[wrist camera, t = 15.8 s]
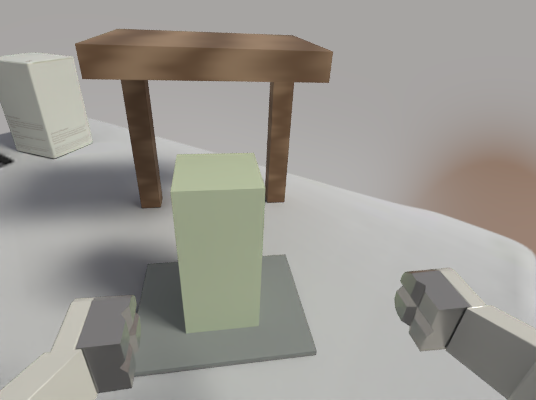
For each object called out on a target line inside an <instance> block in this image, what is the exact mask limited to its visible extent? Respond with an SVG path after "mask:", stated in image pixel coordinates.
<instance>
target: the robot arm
mask: <svg viewBox="0 0 536 400" xmlns="http://www.w3.org/2000/svg"><path fill="white" fill-rule="evenodd" d="M400 281H401V283H402V285H403V286H402V287H401V288H400V289H399V290H397V292H396V295H395V308H396V311H397V314H398V316H399V317H400V319H401V321H403V322H404V323H406V324H407V325H409V326H410V327H409V334H410V336H411V337H412V339H413V340H414V342H415V344H416V345H417V347H418V349H419V350H420V351H430V350H440V349H446V351H447V352H448V353H450V354H451V355H452V356H453V357H455V358H456V359H457V360H458V361H460V362H461V363H462V364H463V365H465V366H466V367H467V368H468V369H470V370H471V371H472V372H474V373H475V374H476V375H477V376H479V377H480V378H481V379H482V380H484V381H485V382H486V383H487V384H489V385H490V386H491V387H492V388H494V389H495V390H496V391H497V392H499V393H500V394H501V395H502V396H504V397H505V398H506V399H507V400H536V329H535V328H533V327H532V326H530V325H528V324H526V323H524V322H522V321H520V320H518V319H516V318H514V317H513V316H511V315H509V314H507V313H505V312H503V311H501V310H499V309H497V308H495V307H494V306H492V305H491V306H487V305H486V304H485V303H484V302H483V301H482V300H481V299H480V297H479V296H478V295H477V294H476V293H475V292H474V291H473V290H472V289H471V288H470V287H469V285H468V284H467V283H466V282H465V281H464V280H463V279H462V278H461V277H460V276H459V275H458V273H457V272H456V271H455V270H453V269H451V268H441V269H430V270H419V271H409V272H405V273H404V274H403V275H402V277H401V280H400ZM136 306H137V303H136V299H135V296H134V295H121V296H104V297H94V298H77V299H74V301H73V302H72V303H71V304H70V307H69V309H68V311H67V314H66V316H65V318H64V321H63V323H62V326H61V328H60V330H59V333H58V335H57V337H56V340H55V342H54V345H53V347H52V349H51V352H47V353H43V354H42V355H41V356H40V357H39V358H37V359H36V360H35V361H34V362H33V363H32V364H31V365H29V366H28V367H27V368H26V369H25V370H24V371H22V372H21V373H20V374H19V375H18V376H17V377H15V378H14V379H13V380H12V381H11V382H10V383H9V384H7V385H6V386H5V387H4V388H3V389H2V390H0V400H95V398H96V397H97V396H98V395H97V393H103V392H110V391H116V390H123V389H129V388H132V386H133V380H134V374H135V369H136V361H135V356H134V354H135V353H136V352H137V351H138V350H139V346H140V338H141V324H140V317H139V315H138V314H137V313H135V311H136Z"/></svg>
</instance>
